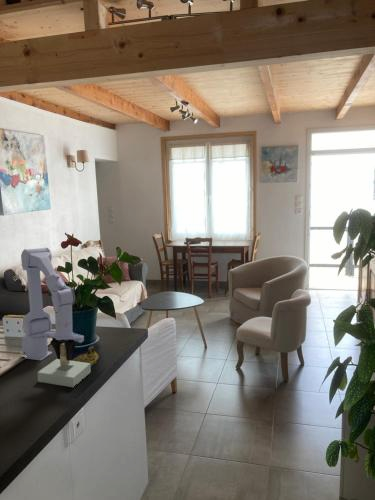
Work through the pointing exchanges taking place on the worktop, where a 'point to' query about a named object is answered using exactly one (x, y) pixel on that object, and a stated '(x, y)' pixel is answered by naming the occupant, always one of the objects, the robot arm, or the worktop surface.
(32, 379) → the worktop surface
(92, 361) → the yellow lumpy piece
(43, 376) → the socket board
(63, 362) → the peg
